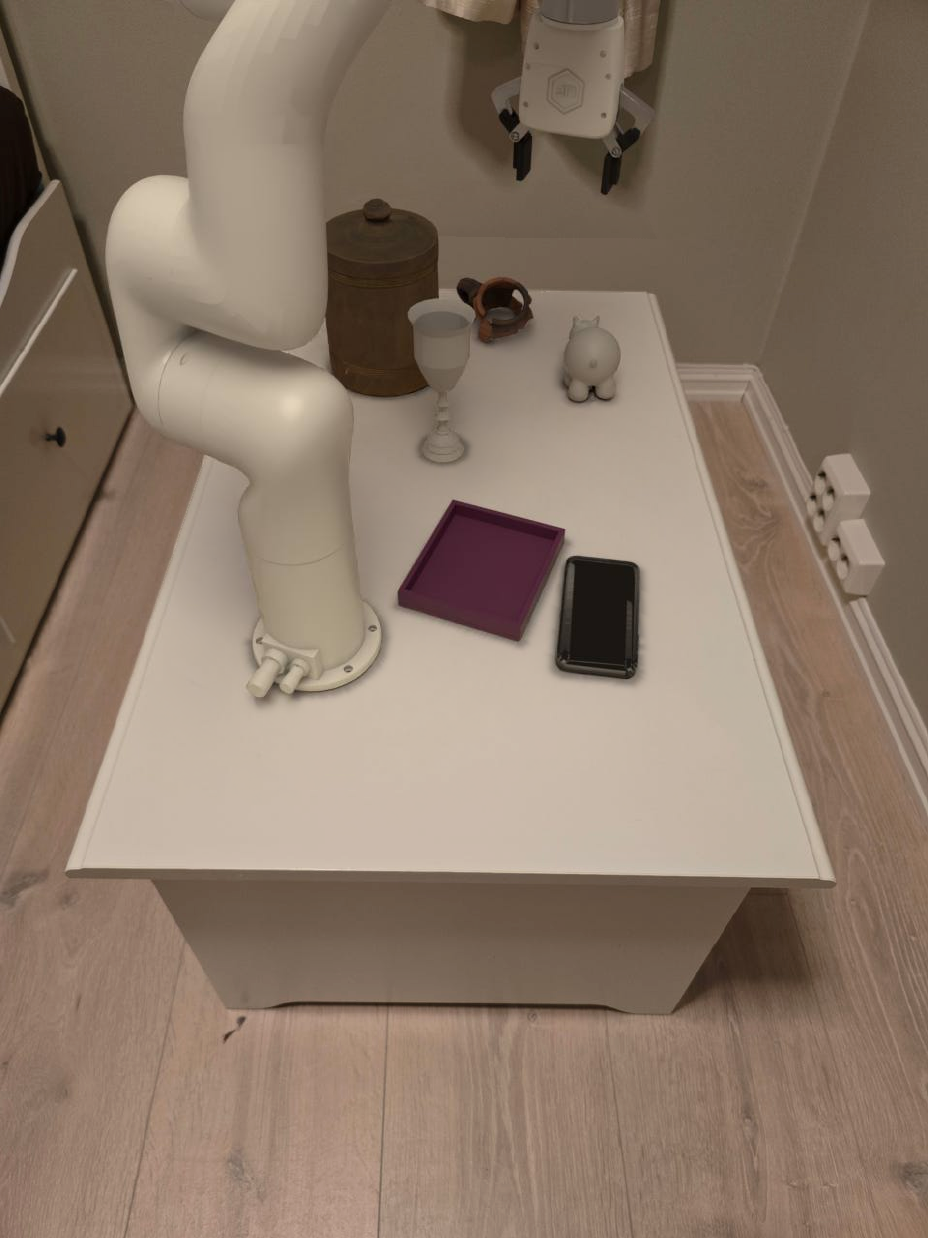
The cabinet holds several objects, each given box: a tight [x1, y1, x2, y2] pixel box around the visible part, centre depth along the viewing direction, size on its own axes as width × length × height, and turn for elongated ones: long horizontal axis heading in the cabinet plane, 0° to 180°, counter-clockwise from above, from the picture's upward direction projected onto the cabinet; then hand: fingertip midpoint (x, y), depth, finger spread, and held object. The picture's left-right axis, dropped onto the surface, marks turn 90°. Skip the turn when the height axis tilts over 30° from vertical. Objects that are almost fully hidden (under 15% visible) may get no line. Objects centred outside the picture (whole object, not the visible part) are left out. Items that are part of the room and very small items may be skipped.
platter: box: [397, 499, 566, 642], centre depth 94 cm, size 15×13×2 cm
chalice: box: [408, 298, 476, 464], centre depth 102 cm, size 7×7×18 cm
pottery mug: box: [455, 276, 534, 343], centre depth 126 cm, size 12×9×8 cm
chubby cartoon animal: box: [563, 315, 622, 402], centre depth 116 cm, size 7×12×8 cm, turn 3°
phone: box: [555, 555, 641, 679], centre depth 91 cm, size 8×1×15 cm
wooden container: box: [324, 197, 440, 397], centre depth 113 cm, size 15×15×22 cm
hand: (564, 182), depth 99 cm, fingers open, 9 cm apart
